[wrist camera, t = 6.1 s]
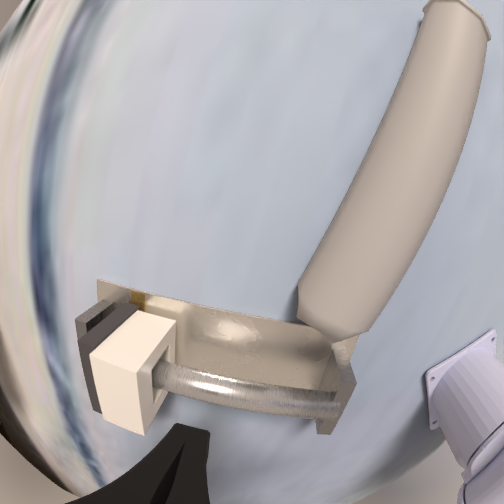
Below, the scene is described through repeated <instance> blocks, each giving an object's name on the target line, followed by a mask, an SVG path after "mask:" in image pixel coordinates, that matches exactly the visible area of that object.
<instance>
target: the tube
mask: <svg viewBox="0 0 504 504" xmlns="http://www.w3.org/2000/svg"><path fill="white" fill-rule="evenodd" d="M422 11H423V12H424V17H423V20H422V23H421V26H420V28H419V31H418V34H417V37H416V39H415V42H414V45H413V47H412V50H411V53H410V55H409V58H408V60H407V63H406V65H405V68H404V70H403V73H402V75H401V78H400V80H399V82H398V85H397V87H396V90H395V92H394V94H393V97H392V99H391V101H390V104H389V106H388V108H387V110H386V113H385V115H384V117H383V119H382V122H381V124H380V126H379V128H378V130H377V133H376V135H375V137H374V139H373V141H372V143H371V145H370V147H369V150H368V152H367V154H366V156H365V158H364V160H363V162H362V164H361V166H360V168H359V170H358V172H357V174H356V176H355V178H354V180H353V182H352V184H351V186H350V188H349V190H348V192H347V194H346V196H345V198H344V200H343V202H342V204H341V206H340V208H339V209H338V211H337V213H336V215H335V217H334V219H333V221H332V223H331V225H330V226H329V228H328V230H327V232H326V234H325V236H324V237H323V239H322V241H321V243H320V245H319V247H318V248H317V250H316V252H315V254H314V255H313V257H312V259H311V261H310V263H309V264H308V266H307V268H306V270H305V271H304V273H303V275H302V277H301V278H300V280H299V282H298V300H299V303H298V310H297V318H298V319H300V320H302V321H303V322H305V323H306V324H308V325H309V326H311V327H313V328H314V329H316V330H317V331H319V332H320V333H321V334H322V335H324V336H325V337H326V338H327V339H329V340H330V341H331V342H332V343H336V342H339V341H342V340H345V339H348V338H351V337H354V336H357V335H359V334H362V333H365V332H367V331H369V329H370V328H371V327H372V325H373V324H374V322H375V321H376V319H377V318H378V316H379V315H380V313H381V312H382V310H383V309H384V307H385V306H386V304H387V303H388V301H389V300H390V298H391V296H392V295H393V293H394V292H395V290H396V288H397V287H398V285H399V283H400V282H401V280H402V278H403V277H404V275H405V273H406V272H407V270H408V268H409V266H410V265H411V263H412V261H413V259H414V257H415V256H416V254H417V252H418V250H419V248H420V246H421V244H422V242H423V241H424V239H425V237H426V235H427V233H428V231H429V229H430V227H431V225H432V222H433V220H434V218H435V216H436V214H437V212H438V210H439V207H440V205H441V203H442V201H443V198H444V196H445V194H446V191H447V189H448V187H449V184H450V182H451V179H452V177H453V174H454V172H455V169H456V166H457V164H458V161H459V158H460V155H461V152H462V150H463V147H464V144H465V140H466V137H467V134H468V131H469V128H470V124H471V121H472V117H473V113H474V110H475V106H476V102H477V98H478V93H479V89H480V84H481V79H482V74H483V69H484V63H485V56H486V49H487V42H488V41H489V40H491V35H490V32H489V30H488V27H487V25H486V22H485V20H484V18H483V15H482V14H481V13H479V12H478V11H477V10H476V9H475V8H473V7H472V6H471V5H470V4H468V3H467V2H466V1H465V0H429V1H428V3H427V4H426V5H425V6H424V7H423V10H422Z"/></svg>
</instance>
